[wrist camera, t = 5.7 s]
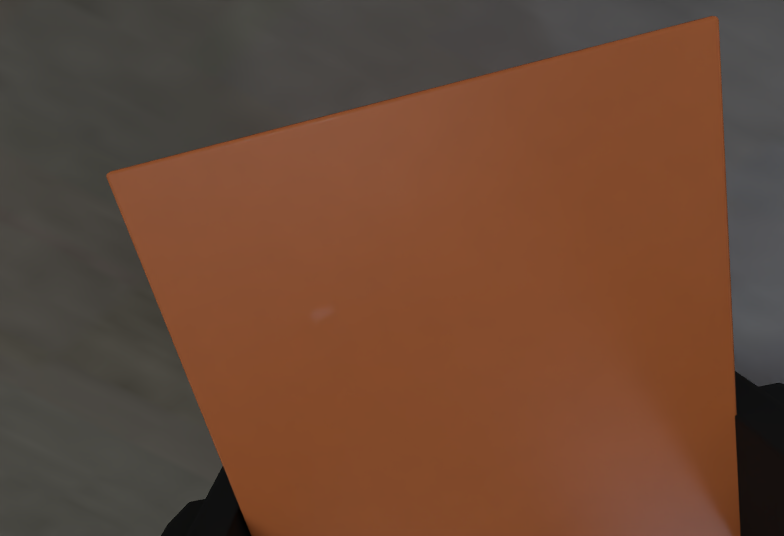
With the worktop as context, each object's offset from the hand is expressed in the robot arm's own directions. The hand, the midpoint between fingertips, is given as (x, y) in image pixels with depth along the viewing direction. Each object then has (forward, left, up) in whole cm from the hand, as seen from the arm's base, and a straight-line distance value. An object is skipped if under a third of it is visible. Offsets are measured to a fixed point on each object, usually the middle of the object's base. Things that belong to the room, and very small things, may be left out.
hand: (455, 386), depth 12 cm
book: (0, 0, 0) cm, 0 cm away
